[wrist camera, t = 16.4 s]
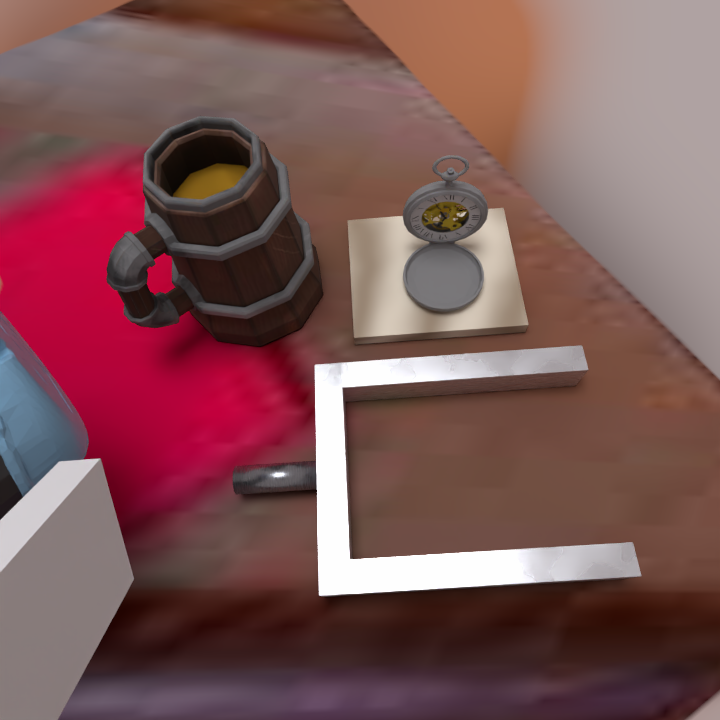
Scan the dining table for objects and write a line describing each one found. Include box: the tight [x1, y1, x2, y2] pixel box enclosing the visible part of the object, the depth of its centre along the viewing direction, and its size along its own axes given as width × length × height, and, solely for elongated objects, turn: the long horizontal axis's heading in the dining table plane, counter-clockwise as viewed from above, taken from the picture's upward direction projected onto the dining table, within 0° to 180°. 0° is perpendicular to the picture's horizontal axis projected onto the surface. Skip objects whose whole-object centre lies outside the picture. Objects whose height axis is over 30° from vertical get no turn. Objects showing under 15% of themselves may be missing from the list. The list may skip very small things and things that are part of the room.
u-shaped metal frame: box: [233, 346, 641, 597], centre depth 39 cm, size 26×16×3 cm, turn 93°
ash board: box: [348, 208, 528, 345], centre depth 47 cm, size 14×12×1 cm
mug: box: [107, 116, 323, 346], centre depth 40 cm, size 16×12×15 cm
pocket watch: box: [403, 156, 488, 312], centre depth 41 cm, size 8×8×10 cm
